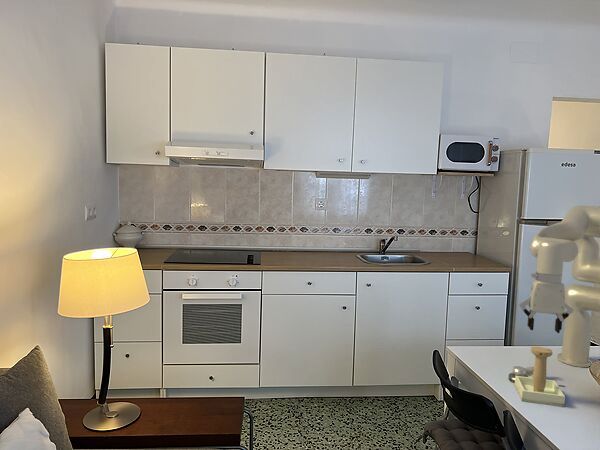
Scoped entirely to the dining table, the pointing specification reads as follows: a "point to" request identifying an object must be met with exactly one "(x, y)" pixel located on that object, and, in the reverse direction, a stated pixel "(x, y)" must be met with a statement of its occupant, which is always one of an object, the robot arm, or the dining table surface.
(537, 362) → the handle
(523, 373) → the crank
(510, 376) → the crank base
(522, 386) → the tray
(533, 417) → the dining table surface
